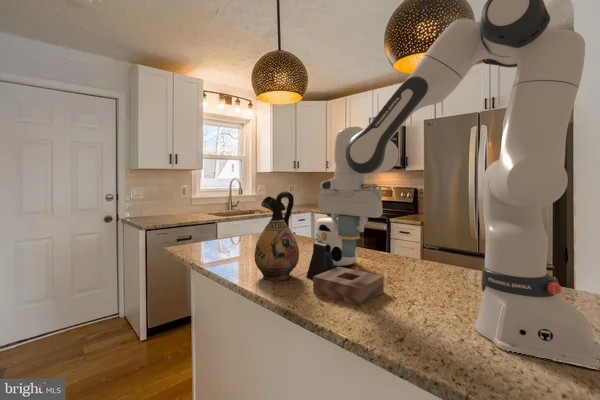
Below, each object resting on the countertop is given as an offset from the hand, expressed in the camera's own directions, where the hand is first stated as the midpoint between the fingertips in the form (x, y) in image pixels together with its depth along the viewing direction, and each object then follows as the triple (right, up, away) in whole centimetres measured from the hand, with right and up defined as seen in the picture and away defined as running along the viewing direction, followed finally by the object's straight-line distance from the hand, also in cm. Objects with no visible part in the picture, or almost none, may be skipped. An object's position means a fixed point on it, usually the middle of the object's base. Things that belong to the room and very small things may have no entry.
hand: (348, 230), depth 94 cm
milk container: (0, -17, +33) cm, 37 cm away
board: (0, -19, +1) cm, 19 cm away
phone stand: (-7, -18, +16) cm, 25 cm away
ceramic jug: (-22, -18, +17) cm, 33 cm away
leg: (0, -8, +1) cm, 8 cm away
